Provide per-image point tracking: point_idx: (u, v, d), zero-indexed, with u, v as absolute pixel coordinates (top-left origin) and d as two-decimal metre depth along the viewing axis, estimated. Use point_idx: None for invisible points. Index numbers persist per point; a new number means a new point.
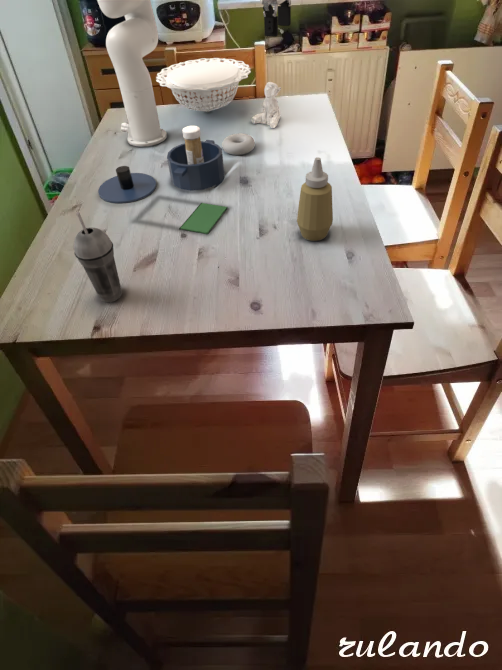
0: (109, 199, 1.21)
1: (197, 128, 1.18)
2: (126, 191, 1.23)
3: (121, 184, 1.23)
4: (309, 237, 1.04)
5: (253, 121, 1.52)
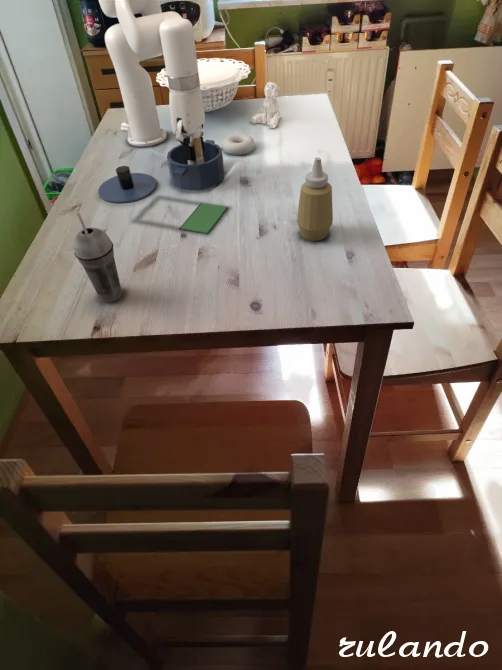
0: (109, 199, 1.21)
1: None
2: (126, 191, 1.23)
3: (121, 184, 1.23)
4: (309, 237, 1.04)
5: (253, 121, 1.52)
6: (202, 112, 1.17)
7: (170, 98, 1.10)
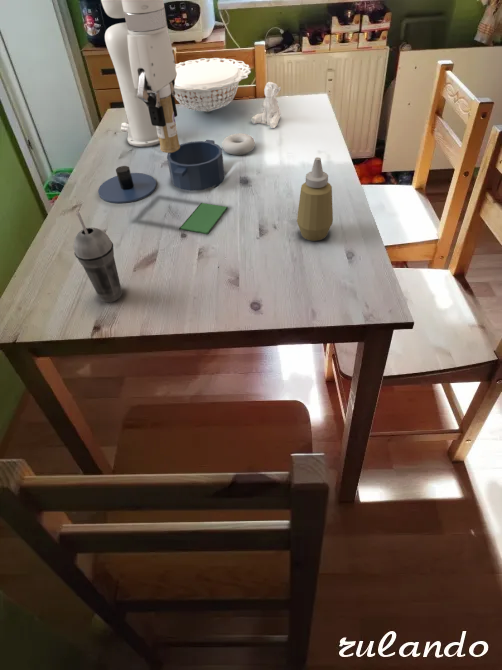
0: (109, 199, 1.21)
1: None
2: (126, 191, 1.23)
3: (121, 184, 1.23)
4: (309, 237, 1.04)
5: (253, 121, 1.52)
6: (172, 64, 0.94)
7: (129, 42, 0.86)
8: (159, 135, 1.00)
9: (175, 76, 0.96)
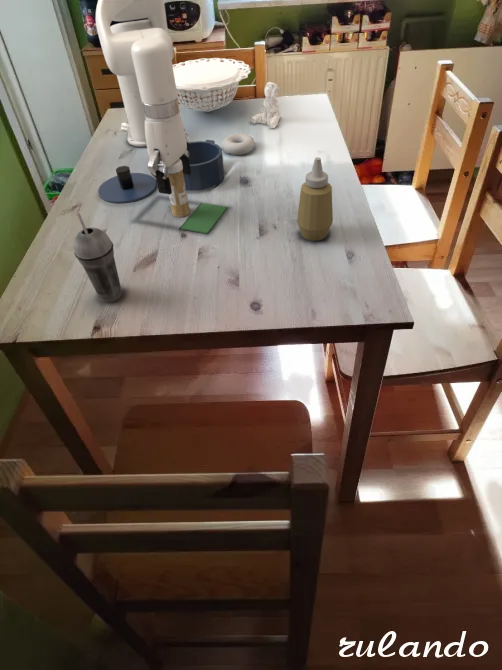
0: (109, 199, 1.21)
1: (178, 161, 1.06)
2: (126, 191, 1.23)
3: (121, 184, 1.23)
4: (309, 237, 1.04)
5: (253, 121, 1.52)
6: (183, 140, 1.04)
7: (146, 127, 0.97)
8: (172, 203, 1.12)
9: (186, 149, 1.07)
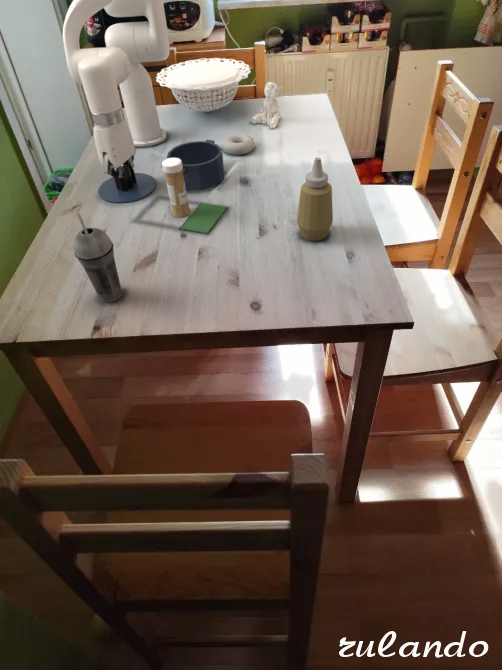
0: (109, 199, 1.21)
1: (178, 161, 1.06)
2: (126, 191, 1.23)
3: None
4: (309, 237, 1.04)
5: (253, 121, 1.52)
6: (131, 144, 1.19)
7: (94, 133, 1.11)
8: (172, 203, 1.12)
9: (134, 152, 1.21)
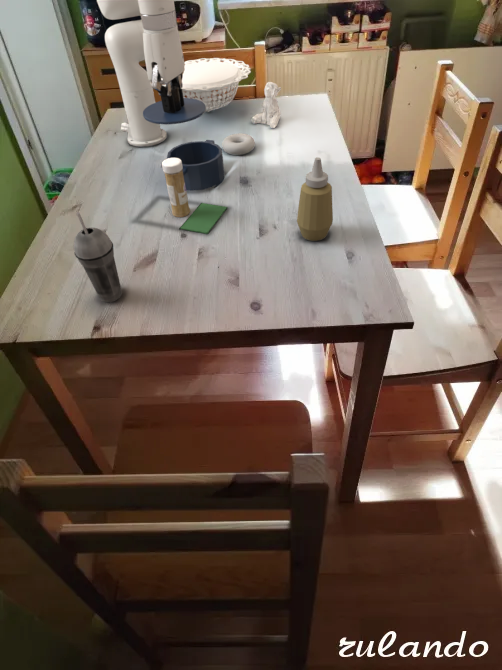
0: (156, 120, 1.10)
1: (178, 161, 1.06)
2: (174, 113, 1.12)
3: None
4: (309, 237, 1.04)
5: (253, 121, 1.52)
6: (181, 59, 1.08)
7: (144, 39, 1.00)
8: (172, 203, 1.12)
9: (183, 69, 1.10)
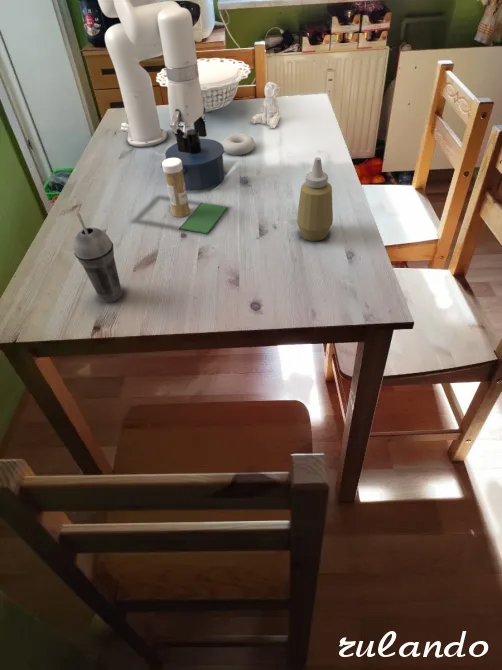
0: None
1: (178, 161, 1.06)
2: (194, 155, 1.20)
3: None
4: (309, 237, 1.04)
5: (253, 121, 1.52)
6: (201, 104, 1.16)
7: (168, 89, 1.08)
8: (172, 203, 1.12)
9: (203, 112, 1.18)
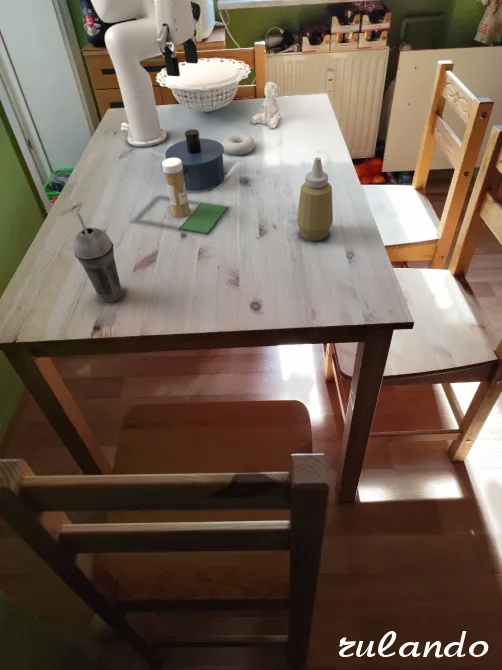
0: None
1: (178, 161, 1.06)
2: (194, 155, 1.20)
3: (189, 148, 1.20)
4: (309, 237, 1.04)
5: (253, 121, 1.52)
6: (191, 22, 1.07)
7: (155, 0, 1.00)
8: (172, 203, 1.12)
9: (193, 34, 1.10)
